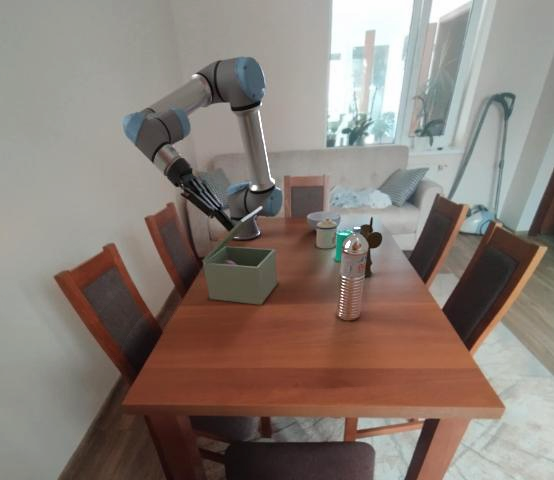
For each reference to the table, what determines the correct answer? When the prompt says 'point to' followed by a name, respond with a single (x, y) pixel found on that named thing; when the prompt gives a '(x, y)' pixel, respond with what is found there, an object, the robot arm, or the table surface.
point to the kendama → (370, 243)
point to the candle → (340, 239)
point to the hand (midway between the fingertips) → (233, 229)
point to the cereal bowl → (322, 218)
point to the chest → (241, 274)
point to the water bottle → (352, 276)
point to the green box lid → (233, 233)
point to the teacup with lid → (326, 234)
